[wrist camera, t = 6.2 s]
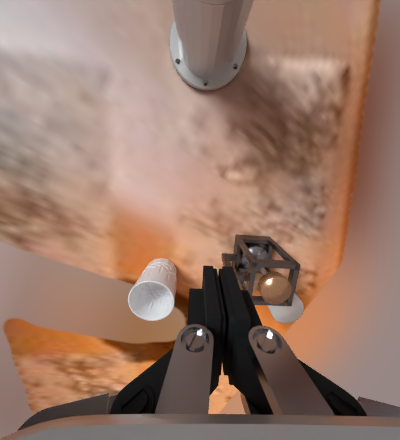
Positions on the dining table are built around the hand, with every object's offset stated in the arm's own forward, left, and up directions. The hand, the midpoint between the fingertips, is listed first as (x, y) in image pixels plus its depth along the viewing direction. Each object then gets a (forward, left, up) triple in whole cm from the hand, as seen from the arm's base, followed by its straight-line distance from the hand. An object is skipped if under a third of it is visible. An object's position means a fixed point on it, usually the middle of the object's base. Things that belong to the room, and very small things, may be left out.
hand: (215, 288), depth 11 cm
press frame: (+10, +10, -28) cm, 32 cm away
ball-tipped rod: (+10, +11, -25) cm, 29 cm away
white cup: (+16, -8, -29) cm, 34 cm away
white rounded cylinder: (+18, +17, -29) cm, 38 cm away
